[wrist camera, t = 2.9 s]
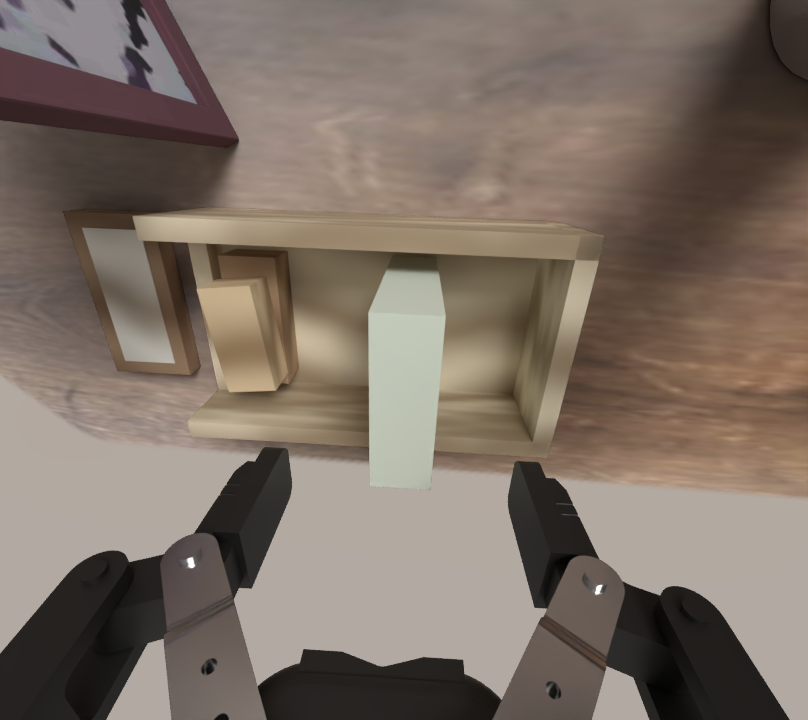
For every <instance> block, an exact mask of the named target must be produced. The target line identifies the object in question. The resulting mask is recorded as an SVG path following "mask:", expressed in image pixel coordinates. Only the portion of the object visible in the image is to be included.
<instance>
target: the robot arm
mask: <svg viewBox="0 0 808 720" xmlns="http://www.w3.org/2000/svg"><path fill="white" fill-rule="evenodd" d="M770 30H771V35H772V40H773V45H774V48H775V50H776V52H777V54H778V55H779V57H780V59H781V61H782V63H783V64H784V65H785V66H786V67H787V68H788V69H789V70H790V71H791V72H792V73H794V74H796V75H798V76H800V77H802V78H804V79H806V80H808V0H771V4H770ZM291 489H292V478H291V471H290V463H289V455H288V450H287V449H286V448H272V447H265V448H263V449H262V451H261V453H260V454H259V456H258V457H257V459H256V461H255V462H252V461H247V462H246V463H244V465H242V466H241V467H239V468H238V469H237V470H236V471H235V472H234V473H233V475H232V476H231V478H230V479H229V481H228V482H227V485H226V486H225V487H224V488H223V490H222V491H221V494H220V496H218V498H217V499H216V501H215V502H214V504H213V505H212V507H211V508H210V510H209V511H208V513H207V514H206V516H205V518H204V519H203V521H202V522H201V524H200V525H199V527H198V528H197V530H196V531H195V533H194V534H191V535H189V536H186V537H184V538H182V539H180V540H178V541H177V542H176V543H174V544H173V545H172V546H171V547H170V548H169V549H168V550H167V551H166V552H165V554H163V555H159V556H155V557H151V558H146V559H142V560H137V561H133V562H129V561H128V559H127V557H126V555H125V554H124V553H122V552H120V551H106V552H102V553H99V554H96V555H93V556H91V557H89V558H87V559H86V560H84V561H82V562H81V563H79V564H78V565H77V566H75V567H74V568H73V569H72V570H71V571H70V572H69V573H68V574H67V575H66V577H65V578H64V579H63V580H62V581H61V582H60V584H59V585H58V586H57V587H56V588H55V590H54V591H53V592H52V593H51V594H50V596H49V597H48V598H47V599H46V600H45V601H44V603H43V604H42V605H41V606H40V607H39V609H38V610H37V611H36V612H35V613H34V614H33V616H32V617H31V618H30V619H29V621H27V623H26V624H25V625H24V626H23V627H22V629H21V630H20V631H19V632H18V633H17V635H16V636H15V637H14V638H13V639H12V641H11V642H10V643H9V644H8V645H7V646H6V648H5V649H4V650H3V651H2V652H1V654H0V720H106V719H107V717H108V715H109V713H110V711H111V710H112V708H113V706H114V704H115V702H116V700H117V699H118V697H119V695H120V693H121V691H122V689H123V687H124V686H125V684H126V682H127V680H128V678H129V676H130V675H131V673H132V671H133V669H134V667H135V665H136V664H137V662H138V660H139V658H140V656H141V654H142V652H143V651H144V649H145V647H146V645H147V643H149V642H153V641H157V640H161V639H164V649H165V659H166V668H167V679H168V689H169V699H170V709H171V718H172V720H592V716H593V712H594V709H595V706H596V703H597V699H598V696H599V692H600V689H601V685H602V681H603V678H604V674H605V671H606V666H608V667H610V668H613V669H615V670H617V671H620V672H622V673H625V674H627V675H629V676H631V677H633V678H634V680H635V683H636V685H637V688H638V691H639V693H640V696H641V699H642V701H643V704H644V706H645V709H646V712H647V714H648V717H649V719H650V720H789V718H788V717H787V715H786V713H785V712H784V710H783V709H782V708H781V706H780V704H779V703H778V701H777V700H776V698H775V696H774V695H773V693H772V692H771V690H770V689H769V687H768V685H767V684H766V682H765V681H764V679H763V678H762V676H761V675H760V673H759V672H758V670H757V668H756V667H755V665H754V664H753V662H752V661H751V659H750V657H749V656H748V654H747V653H746V651H745V650H744V648H743V647H742V645H741V643H740V642H739V640H738V639H737V637H736V636H735V634H734V632H733V631H732V629H731V628H730V626H729V625H728V623H727V622H726V620H725V619H724V617H723V616H722V614H721V613H720V612H719V611H718V610H717V608H716V607H715V606H714V605H713V604H711V602H709V601H708V600H707V599H705V598H704V597H703V596H701V595H700V594H698V593H696V592H694V591H692V590H689V589H686V588H683V587H679V586H671V587H668V588H666V589H664V590H663V592H662V593H661V595H660V596H659V595H657V594H654V593H651V592H648V591H645V590H642V589H639V588H636V587H634V586H631V585H629V584H627V583H625V582H623V581H622V580H621V578H620V577H619V575H618V574H617V573H616V572H615V571H614V570H613V569H612V568H611V567H610V566H609V565H607V564H606V563H604V562H603V561H601V560H599V558H598V556H597V554H596V552H595V550H594V547H593V545H592V543H591V541H590V539H589V537H588V535H587V533H586V531H585V529H584V526H583V524H582V522H581V520H580V518H579V517H578V514H577V512H576V509H575V508H574V506H573V503H572V501H571V499H570V497H569V495H568V493H567V490H566V489H565V488H564V487H563V486H562V485H561V484H560V483H559V482H558V481H557V480H556V479H553V478H546V477H545V475H544V472H543V470H542V468H541V465H540V464H539V463H538V462H523V461H516V462H515V464H514V469H513V474H512V479H511V484H510V489H509V494H508V508H509V514H510V518H511V521H512V525H513V529H514V532H515V536H516V540H517V544H518V547H519V551H520V555H521V559H522V562H523V566H524V570H525V573H526V577H527V581H528V585H529V588H530V592H531V596H532V600H533V603H534V607H535V608H547V611H546V613H545V615H544V617H542V618H541V619H540V621H539V623H538V625H537V627H536V629H535V631H534V633H533V635H532V637H531V640H530V642H529V644H528V646H527V648H526V650H525V652H524V654H523V656H522V658H521V661H520V663H519V665H518V667H517V669H516V671H515V673H514V675H513V677H512V680H511V682H510V684H509V686H508V688H507V690H506V692H505V694H504V696H503V699H502V700H501V699H500V698H499V697H498V696H497V695H496V694H495V693H494V692H493V691H492V690H491V689H490V688H488V687H487V686H485V685H484V684H483V683H481V682H480V681H478V680H476V679H474V678H472V677H470V676H468V675H465V674H464V665H463V660H457V659H442V658H427V657H423V658H419V659H414V660H410V661H406V662H402V663H398V664H394V665H389V666H385V667H380V666H377V665H375V664H372V663H370V662H367V661H364V660H362V659H359V658H357V657H354V656H352V655H349V654H346V653H344V652H337V651H322V650H307V649H304V650H303V654H302V657H301V661H300V663H299V664H295V665H292V666H290V667H287V668H284V669H283V670H281V671H279V672H277V673H275V674H273V675H272V676H270V677H269V678H268V679H266V680H265V681H263V682H262V683H261V684H260V685H259V686H257V683H256V679H255V676H254V672H253V668H252V665H251V661H250V658H249V654H248V650H247V647H246V643H245V639H244V636H243V632H242V628H241V625H240V621H239V618H238V614H237V610H236V607H235V603H234V597H235V595H236V593H237V591H238V589H239V588H252V586H253V584H254V581H255V579H256V577H257V574H258V572H259V570H260V567H261V565H262V563H263V560H264V558H265V556H266V553H267V551H268V548H269V546H270V544H271V541H272V539H273V537H274V534H275V532H276V529H277V527H278V525H279V522H280V520H281V518H282V515H283V513H284V511H285V508H286V505H287V503H288V501H289V498H290V495H291Z"/></svg>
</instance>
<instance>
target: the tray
mask: <svg viewBox="0 0 808 720" xmlns="http://www.w3.org/2000/svg"><path fill="white" fill-rule="evenodd" d="M132 217H133V221H134V224H135V228H136V232H137V236H138V239H139V240H140V241H162V242H185V243H188V248H189V253H190V257H191V262H192V267H193V271H194V276H195V281H196V286H197V288H200V287H202V286H204V285H206V284H208V283H210V282H212V281H214V280H216V279H222V278H221V272H220V267H219V261H218V256H217V255H220V254H223V253H226V252H228V251H231V250H234V249H251V250H273V251H288V261H289V271H290V282H291V292H292V302H293V312H294V322H295V332H296V342H297V352H298V362H299V369H298V370H297V372H296V373H295V375H294V376H293V378H292V379H291V381H290V382H289V384H286V383H281V384H280V385H279V387H278V388H277V390H276V391H252V392H229V391H228V387H227V384H226V381H225V378H224V375H223V372H222V369H221V365H220V362H219V359H218V356H217V353H216V350H215V346H214V343H213V340H212V337H211V334H210V331H209V327H208V324H207V321H206V318H205V315H204V312H203V308H202V305H201V309H202V314H203V319H204V323H205V328H206V333H207V337H208V342H209V347H210V352H211V356H212V361H213V366H214V371H215V375H216V380H217V385H218V389H219V390H218V391H217V392H216V393H215V394H214V395H213V396H212V397H211V398H210V399H209V400H208V401H207V402H206V403H205V404H204V405H203V406H202V407H201V408H200V409H199V410H198V411H197V412H196V413H195V414H194V415H193V416H192V417H191V418H190V419H189V420H188V421H187V423H188V427H189V431H190V435H191V436H193V437H210V438H226V439H243V440H259V441H276V442H292V443H309V444H325V445H342V446H359V447H369V333H368V312H369V310H370V307H371V305H372V303H373V300H374V298H375V296H376V293H377V291H378V289H379V286H380V284H381V281H382V279H383V277H384V274H385V272H386V270H387V267H388V265H389V263H390V260H391V258H392V256H406V257H428V258H437V264H438V270H439V276H440V283H441V289H442V296H443V302H444V308H445V315H446V319H445V330H444V342H443V353H442V364H441V375H440V387H439V398H438V409H437V420H436V432H435V443H434V451H441V452H458V453H474V454H491V455H507V456H524V457H541V458H548V455H549V451H550V447H551V443H552V440H553V436H554V432H555V428H556V424H557V420H558V417H559V413H560V409H561V405H562V401H563V397H564V394H565V390H566V386H567V382H568V378H569V374H570V371H571V367H572V363H573V359H574V355H575V351H576V348H577V344H578V340H579V336H580V332H581V328H582V325H583V321H584V317H585V313H586V309H587V305H588V302H589V298H590V294H591V290H592V286H593V282H594V279H595V275H596V271H597V267H598V263H599V259H600V256H601V252H602V248H603V244H604V240H605V236H602V235H599V234H596V233H592V232H589V231H586V230H583V229H580V228H576V227H573V226H570V225H567V224H563V223H560V222H548V221H525V220H501V219H477V218H453V217H429V216H406V215H382V214H358V213H334V212H310V211H287V210H263V209H239V208H215V207H203V208H195V209H187V210H179V211H171V212H162V213H154V214H146V215H138V216H132ZM199 300H200V299H199ZM200 304H201V302H200Z"/></svg>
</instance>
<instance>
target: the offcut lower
mask: <svg viewBox="0 0 808 720" xmlns="http://www.w3.org/2000/svg"><path fill="white" fill-rule="evenodd" d="M217 256H218V261H219V267H220V272H221V278H222V279H223V278H240V277H256V276H266V279H267V283H268V287H269V292H270V296H271V300H272V305H273V309H274V313H275V318H276V322H277V326H278V331H279V335H280V339H281V344H282V348H283V352H284V357H285V361H286V365H287V370H288V374H287V375H286V377H285V378H284V380H283V381H282V382H281V383H286V384H289V382H290V381H291V379H292V378H293V376H294V375H295V373H296V372H297V370H298V369H299V362H298V352H297V342H296V332H295V322H294V312H293V302H292V292H291V282H290V271H289V261H288V251H273V250H251V249H234V250H231V251H228V252H226V253H223V254H220V255H217Z"/></svg>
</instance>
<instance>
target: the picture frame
mask: <svg viewBox="0 0 808 720" xmlns="http://www.w3.org/2000/svg"><path fill="white" fill-rule="evenodd" d="M0 120H4V121H12V122H20V123H28V124H36V125H44V126H52V127H61V128H69V129H77V130H85V131H93V132H101V133H109V134H117V135H126V136H134V137H142V138H150V139H158V140H166V141H174V142H183V143H191V144H199V145H207V146H215V147H223V148H226V147H228V146H230V145H231V144H233V143H235V142H237V141H238V140H239V138H238V136H237V134H236V132H235V131H234V129H233V127H232V125H231V123H230V121H229V119H228V117H227V116H226V114H225V112H224V110H223V108H222V106H221V104H220V102H219V101H218V99H217V97H216V95H215V93H214V91H213V89H212V87H211V86H210V84H209V82H208V80H207V78H206V76H205V74H204V72H203V71H202V69H201V67H200V65H199V63H198V61H197V59H196V57H195V56H194V54H193V52H192V50H191V48H190V46H189V44H188V42H187V41H186V39H185V37H184V35H183V33H182V31H181V29H180V27H179V26H178V24H177V22H176V20H175V18H174V16H173V14H172V13H171V11H170V9H169V7H168V5H167V3H166V1H165V0H0Z"/></svg>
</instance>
